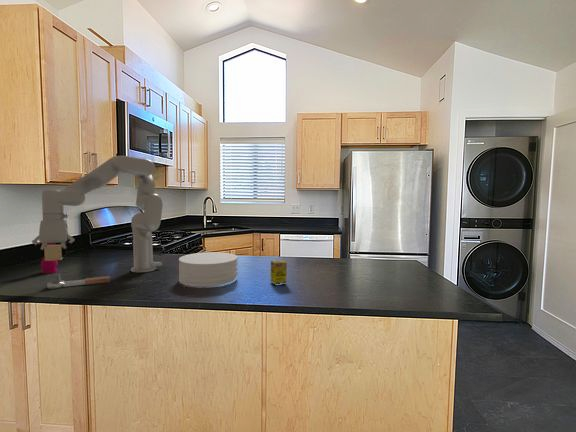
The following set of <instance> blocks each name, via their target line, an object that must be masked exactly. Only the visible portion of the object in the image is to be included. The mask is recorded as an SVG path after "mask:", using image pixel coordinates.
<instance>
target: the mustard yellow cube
mask: <svg viewBox="0 0 576 432" xmlns="http://www.w3.org/2000/svg"><path fill="white" fill-rule="evenodd" d="M44 251H45V261H51V260H57V261H62V260H63V258H62V245H61V244H55V245H46V246H45V247H44Z"/></svg>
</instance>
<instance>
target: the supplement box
mask: <svg viewBox="0 0 576 432" xmlns="http://www.w3.org/2000/svg"><path fill="white" fill-rule="evenodd" d="M287 266H288V264H287V261H285V260H270V280H269V281H271V282H273V283H274V284H280V283H286V284H287V268H288V267H287Z"/></svg>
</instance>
